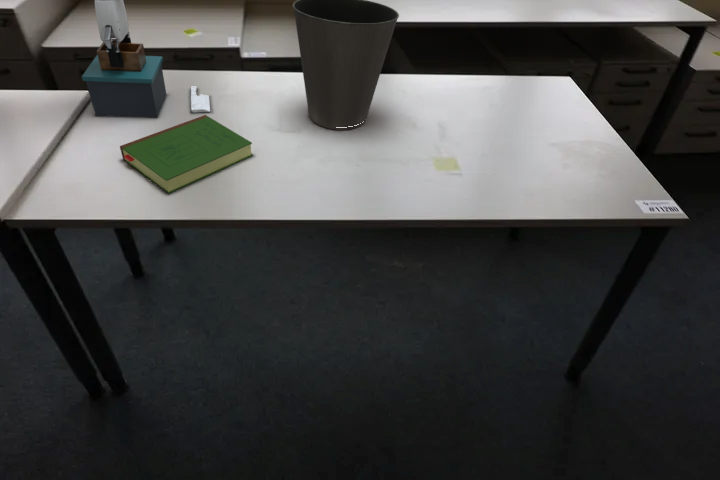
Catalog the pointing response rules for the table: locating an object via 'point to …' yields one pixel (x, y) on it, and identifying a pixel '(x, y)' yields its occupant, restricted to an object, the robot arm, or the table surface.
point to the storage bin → (127, 89)
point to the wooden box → (124, 57)
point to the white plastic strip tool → (199, 101)
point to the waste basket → (342, 57)
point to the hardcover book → (186, 152)
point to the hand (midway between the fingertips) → (122, 59)
